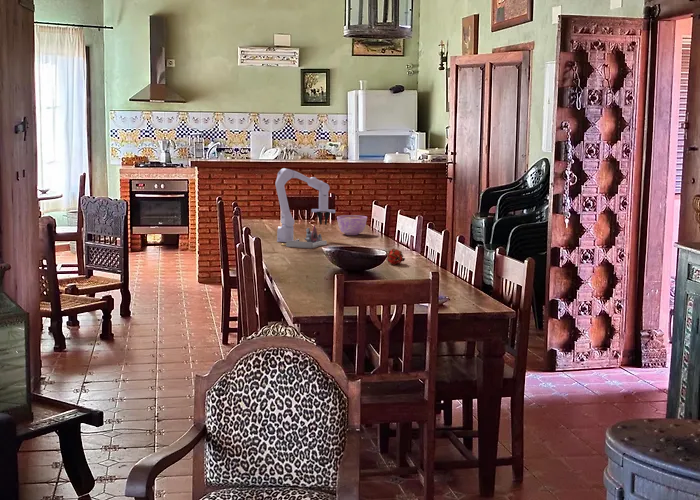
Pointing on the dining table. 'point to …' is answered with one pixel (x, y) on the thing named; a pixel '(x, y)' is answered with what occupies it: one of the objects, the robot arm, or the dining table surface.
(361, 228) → the purple rounded bowl
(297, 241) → the receiver
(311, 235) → the brake caliper
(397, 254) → the dragon fruit
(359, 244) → the dining table surface
